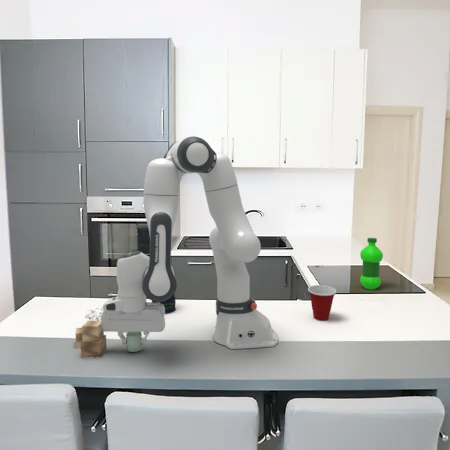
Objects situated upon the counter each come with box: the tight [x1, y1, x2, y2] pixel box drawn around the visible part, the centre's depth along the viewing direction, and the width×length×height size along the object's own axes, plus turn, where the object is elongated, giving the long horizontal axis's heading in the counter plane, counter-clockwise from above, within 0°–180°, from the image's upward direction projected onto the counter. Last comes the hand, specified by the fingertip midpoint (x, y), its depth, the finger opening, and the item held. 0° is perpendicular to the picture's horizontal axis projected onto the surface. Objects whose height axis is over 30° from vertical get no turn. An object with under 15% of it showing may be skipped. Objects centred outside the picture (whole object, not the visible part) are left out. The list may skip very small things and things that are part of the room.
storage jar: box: [151, 292, 176, 315], centre depth 171 cm, size 10×10×15 cm
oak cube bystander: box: [74, 327, 83, 349], centre depth 137 cm, size 5×5×5 cm
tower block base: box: [80, 334, 108, 359], centre depth 130 cm, size 6×6×5 cm
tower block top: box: [81, 320, 105, 342], centre depth 130 cm, size 5×5×5 cm
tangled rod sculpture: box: [84, 306, 104, 321], centre depth 165 cm, size 19×14×4 cm
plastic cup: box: [307, 284, 337, 321], centre depth 161 cm, size 11×11×12 cm
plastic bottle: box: [359, 237, 384, 291], centre depth 202 cm, size 10×10×25 cm
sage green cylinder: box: [125, 332, 143, 353], centre depth 132 cm, size 5×5×5 cm
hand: (134, 343), depth 132 cm, fingers closed on sage green cylinder, 5 cm apart
